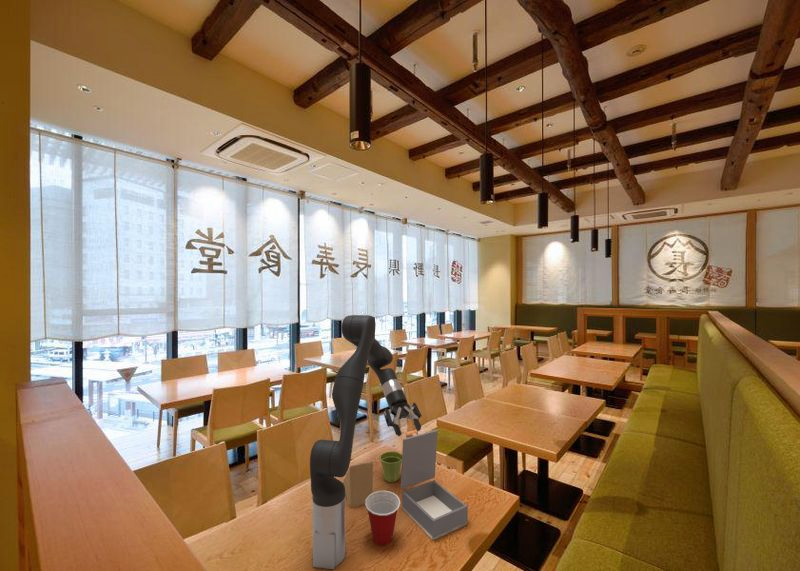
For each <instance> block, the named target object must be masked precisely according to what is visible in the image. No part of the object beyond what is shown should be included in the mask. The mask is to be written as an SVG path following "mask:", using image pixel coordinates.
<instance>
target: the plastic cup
mask: <svg viewBox="0 0 800 571" xmlns="http://www.w3.org/2000/svg"><path fill="white" fill-rule="evenodd" d="M400 506H401V500H400V497H399V496H398V495H397V494H396V493H394V492H393V491H388V490H376V491H373V493H372V494H370V495H369V496H368V497H367V499H366V500H365V506H364V507H366V509H367V510H366V511H367V512H368V513H367V514H368V518H369V523H370V530H371V536H372V540H373V542H374V543H375V544H376V545H378V546H379V545H380V546H386V545H389V544H390V543H391V542H392V540H393V535H394V529H395V525H396V519H397V513H398V510H399V508H400Z"/></svg>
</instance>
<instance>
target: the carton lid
mask: <svg viewBox="0 0 800 571" xmlns="http://www.w3.org/2000/svg"><path fill="white" fill-rule="evenodd" d="M438 433H439V431H438V430H437V429H434V430H430V431H428V432H427V431H426V432H423V433H420V434H419V431H417V430H416V429H413V430H410V431H409V430H408V431H407V432H406V433H405V436H406V438H402V448H401V449H402V451H401V452H402V453H401V454H402V463H401V467H400V489H401V490H404V489H407V488H409V487H412V486H415V485H418V484H421V483H425V482H426V481H429V480H431V479H435V477H436V466H437V465H436V463H437V462H436V461H437V451H438V450H437V449H438V448H437V447H438Z"/></svg>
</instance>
